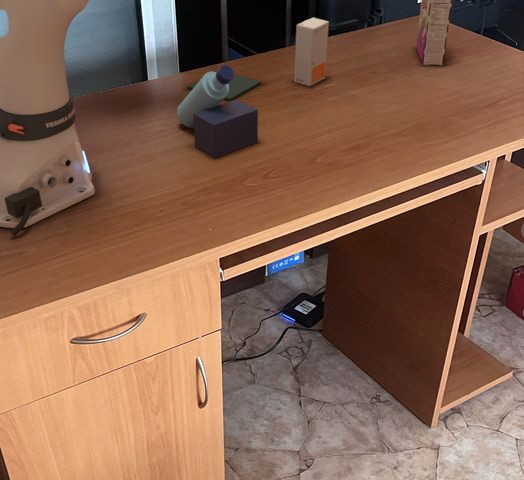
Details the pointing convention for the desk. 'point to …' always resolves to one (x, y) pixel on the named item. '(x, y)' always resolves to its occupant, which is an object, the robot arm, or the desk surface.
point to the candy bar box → (433, 31)
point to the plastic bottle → (205, 94)
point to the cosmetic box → (311, 51)
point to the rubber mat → (236, 86)
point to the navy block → (225, 128)
